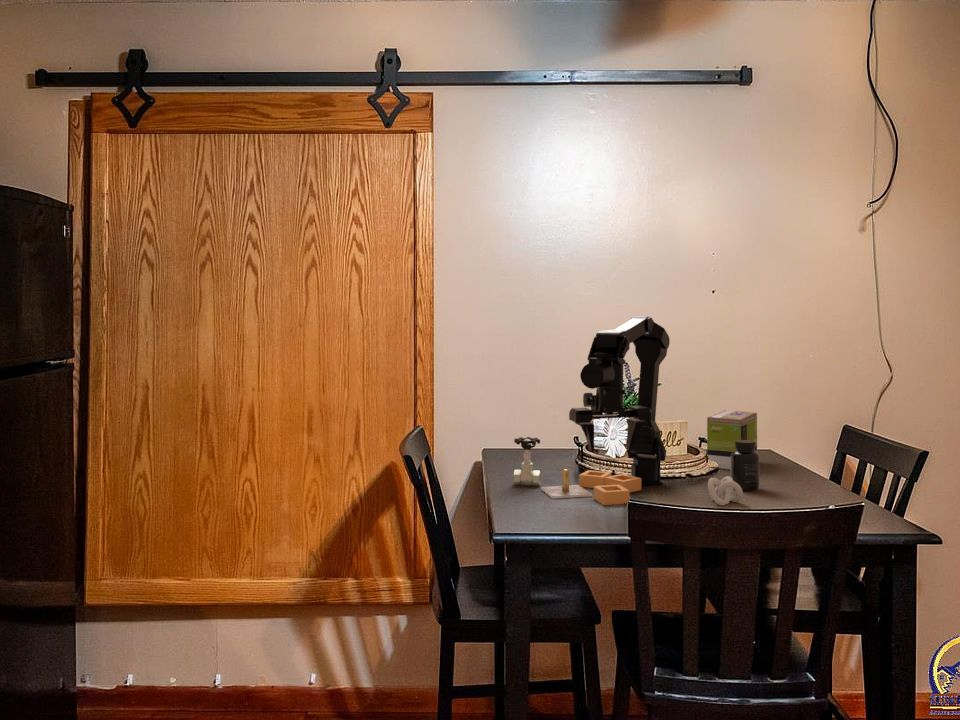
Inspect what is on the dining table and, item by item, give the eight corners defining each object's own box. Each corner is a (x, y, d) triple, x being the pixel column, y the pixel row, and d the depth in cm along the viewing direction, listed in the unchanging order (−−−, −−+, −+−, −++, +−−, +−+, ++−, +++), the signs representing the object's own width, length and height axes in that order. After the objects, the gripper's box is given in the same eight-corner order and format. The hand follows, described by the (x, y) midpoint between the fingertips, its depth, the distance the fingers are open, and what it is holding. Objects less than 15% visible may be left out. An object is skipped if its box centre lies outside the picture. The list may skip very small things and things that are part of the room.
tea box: (723, 458, 239) (724, 409, 238) (757, 462, 234) (759, 411, 233) (705, 467, 227) (706, 415, 226) (741, 471, 221) (742, 418, 220)
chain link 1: (587, 481, 210) (588, 470, 210) (611, 483, 207) (611, 472, 207) (579, 486, 205) (579, 474, 204) (603, 489, 202) (603, 477, 201)
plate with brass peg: (578, 487, 204) (578, 464, 203) (591, 496, 194) (592, 472, 194) (540, 489, 202) (540, 466, 201) (552, 498, 192) (552, 474, 192)
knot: (701, 498, 192) (702, 474, 192) (735, 498, 192) (736, 474, 192) (709, 506, 185) (710, 481, 184) (745, 506, 184) (745, 481, 184)
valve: (538, 488, 202) (538, 441, 201) (512, 487, 204) (512, 440, 203) (541, 483, 209) (541, 437, 208) (516, 482, 210) (516, 436, 209)
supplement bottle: (760, 486, 203) (761, 439, 202) (757, 492, 197) (758, 444, 196) (732, 484, 206) (733, 438, 205) (728, 490, 200) (729, 442, 199)
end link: (618, 496, 194) (619, 484, 193) (629, 503, 187) (629, 490, 187) (593, 498, 192) (593, 486, 192) (603, 505, 186) (603, 492, 186)
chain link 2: (622, 485, 206) (622, 473, 205) (641, 490, 200) (641, 478, 200) (604, 489, 202) (604, 477, 201) (623, 493, 197) (623, 481, 196)
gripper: (634, 380, 198) (634, 443, 199) (562, 382, 194) (562, 446, 195) (653, 384, 187) (652, 451, 188) (576, 387, 183) (576, 454, 184)
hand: (610, 450), depth 189 cm, fingers open, 9 cm apart
